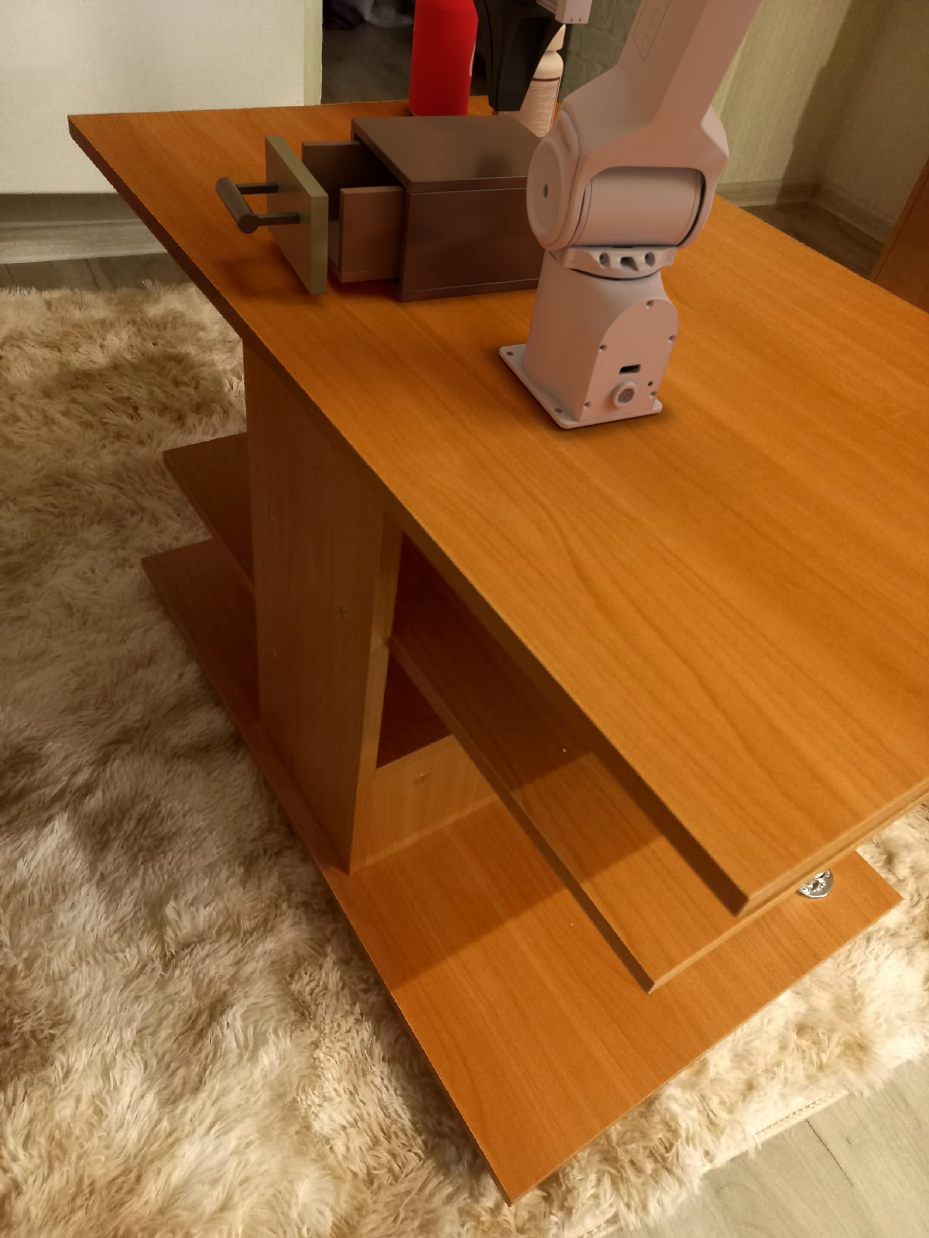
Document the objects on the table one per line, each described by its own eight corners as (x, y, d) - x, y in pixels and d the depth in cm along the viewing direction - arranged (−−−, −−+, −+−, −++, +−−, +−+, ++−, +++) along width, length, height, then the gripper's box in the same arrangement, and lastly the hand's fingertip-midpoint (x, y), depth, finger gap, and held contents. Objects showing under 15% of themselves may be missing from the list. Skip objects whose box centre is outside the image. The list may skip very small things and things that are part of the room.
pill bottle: (498, 134, 91) (517, 6, 83) (554, 149, 90) (578, 21, 82) (478, 151, 87) (496, 18, 79) (536, 168, 86) (560, 35, 78)
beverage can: (468, 114, 94) (484, -20, 85) (463, 133, 90) (479, -6, 81) (411, 104, 94) (422, -32, 85) (403, 123, 90) (413, -18, 81)
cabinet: (401, 302, 64) (411, 181, 58) (347, 232, 71) (351, 117, 65) (558, 286, 69) (583, 173, 63) (494, 222, 76) (511, 114, 70)
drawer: (250, 301, 60) (245, 199, 55) (211, 233, 66) (204, 136, 61) (469, 280, 66) (481, 187, 61) (415, 220, 72) (423, 131, 67)
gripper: (435, -156, 58) (416, 75, 68) (540, -107, 50) (501, 147, 59) (527, -146, 61) (496, 74, 70) (641, -98, 52) (588, 144, 62)
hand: (504, 108), depth 65 cm, fingers closed
